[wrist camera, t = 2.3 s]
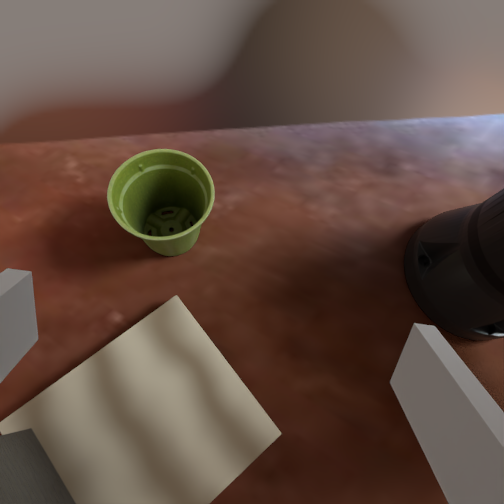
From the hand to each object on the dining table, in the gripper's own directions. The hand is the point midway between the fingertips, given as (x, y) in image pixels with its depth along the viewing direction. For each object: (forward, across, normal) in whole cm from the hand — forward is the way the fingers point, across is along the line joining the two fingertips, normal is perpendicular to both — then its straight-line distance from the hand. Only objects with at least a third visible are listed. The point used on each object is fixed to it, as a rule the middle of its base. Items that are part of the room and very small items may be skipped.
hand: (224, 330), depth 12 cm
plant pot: (+28, -7, -8) cm, 29 cm away
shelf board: (+13, -5, -22) cm, 26 cm away
